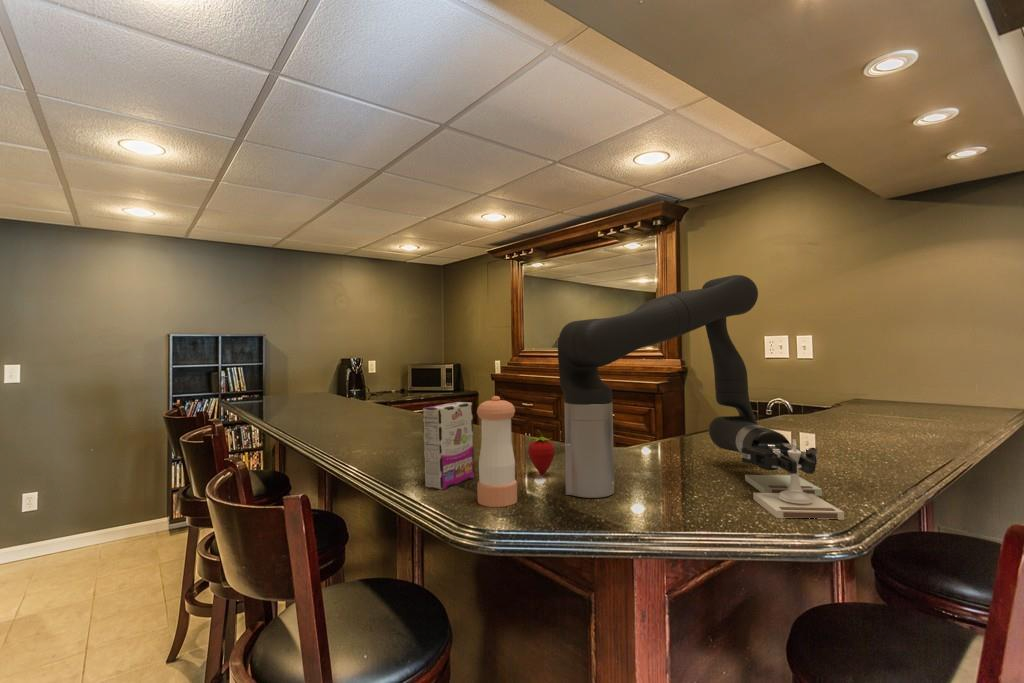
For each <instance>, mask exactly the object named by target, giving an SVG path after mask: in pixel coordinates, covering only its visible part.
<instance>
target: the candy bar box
mask: <svg viewBox="0 0 1024 683" xmlns="http://www.w3.org/2000/svg"><path fill="white" fill-rule="evenodd" d="M473 418H474V417H473V402H468V401H467V402H466V401H456V402H450V403H449V402H448V403H444V404H438V405H433V406H428V407H427V406H426V407H423V408H422V421H423V423H422V424H423V429H422V430H423V457H424V458H423V460H424V487H425V488H426V489H427V488H428V489H433V490H434V489H435V490H446V489H448V488H451V487H454V486H456V485H458V484H461V483H464V482H466V481H468V480H471V479H473V478H475V461H474V460H475V459H474V458H475V457H474V428H473V427H474V426H473V424H474V423H473Z"/></svg>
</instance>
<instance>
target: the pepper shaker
mask: <svg viewBox="0 0 1024 683" xmlns="http://www.w3.org/2000/svg"><path fill="white" fill-rule="evenodd" d="M515 413H516V408H515V405H514V404H513V403H511V402H509V401H507V400H501V397H500V396H498V395H494V396H492V397H491V400H485V401H483V402H482V403H480V404H479V405H478V407H477V409H476V414H477V416H478V418H479V419H480V420H481V442H480V443H481V444H480V452H479V458H478V472H479V473H478V477H479V480H478V481H477V484H476V485H477V486H476V488H477V489H476V490H477V495H476V496H477V503H478V504H479V505H481V506H484V507H490V508H500V507H502V508H503V507H508V506H512V505H515V504H516V503H517V502H518V480H516V477H515V476H516V459H515V454H514V449H513V442H512V418H513V417H514V415H515Z"/></svg>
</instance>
